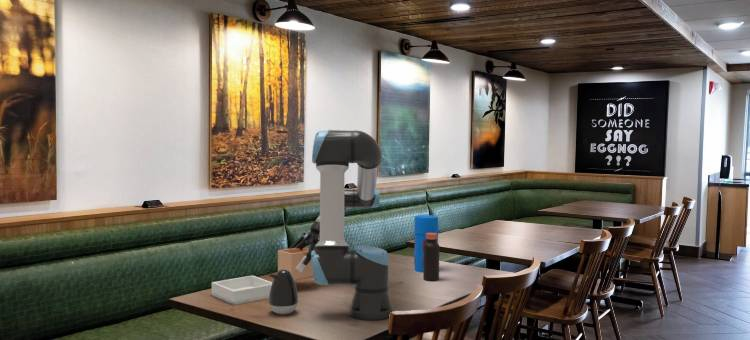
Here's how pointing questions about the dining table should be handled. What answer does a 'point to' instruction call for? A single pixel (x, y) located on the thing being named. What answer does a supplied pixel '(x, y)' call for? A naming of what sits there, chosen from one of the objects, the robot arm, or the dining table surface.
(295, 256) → the terracotta crate
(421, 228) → the thermos
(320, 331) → the dining table surface
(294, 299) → the pump dispenser
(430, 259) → the bottle
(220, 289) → the white tray
